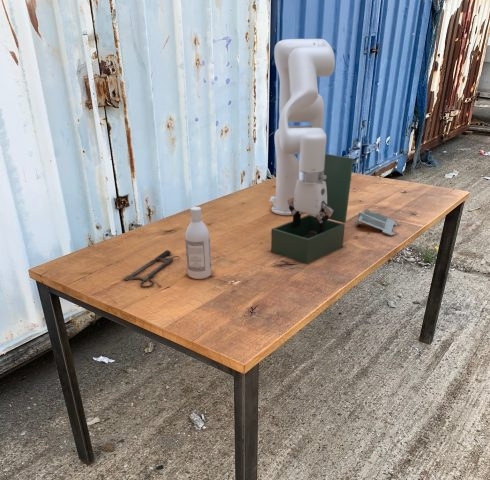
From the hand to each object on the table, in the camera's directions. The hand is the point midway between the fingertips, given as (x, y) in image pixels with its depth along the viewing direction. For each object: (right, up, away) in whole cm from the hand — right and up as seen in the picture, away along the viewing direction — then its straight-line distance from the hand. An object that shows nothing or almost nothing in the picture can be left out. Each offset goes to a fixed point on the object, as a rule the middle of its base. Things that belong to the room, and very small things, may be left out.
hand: (308, 230), depth 161 cm
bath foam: (-34, -16, -13) cm, 39 cm away
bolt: (0, -5, +3) cm, 6 cm away
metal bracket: (+27, +5, +21) cm, 34 cm away
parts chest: (0, -6, +3) cm, 6 cm away
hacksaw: (-46, -14, -9) cm, 49 cm away
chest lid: (+7, +14, 0) cm, 15 cm away
